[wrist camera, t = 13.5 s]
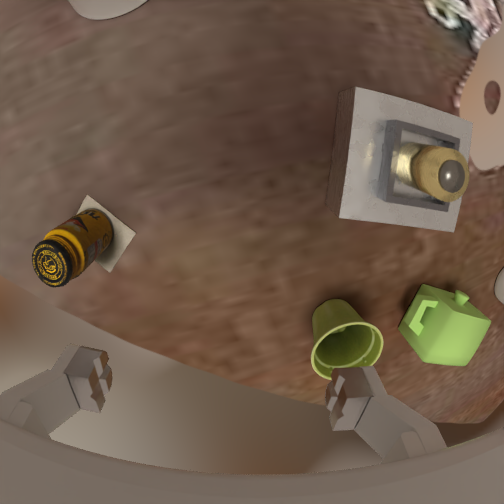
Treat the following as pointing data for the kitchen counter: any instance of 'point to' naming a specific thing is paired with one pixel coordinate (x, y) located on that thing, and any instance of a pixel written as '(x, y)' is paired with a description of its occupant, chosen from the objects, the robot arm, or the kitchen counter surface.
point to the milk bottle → (500, 286)
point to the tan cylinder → (433, 170)
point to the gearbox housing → (388, 159)
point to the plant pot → (342, 338)
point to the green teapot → (443, 326)
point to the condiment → (81, 244)
